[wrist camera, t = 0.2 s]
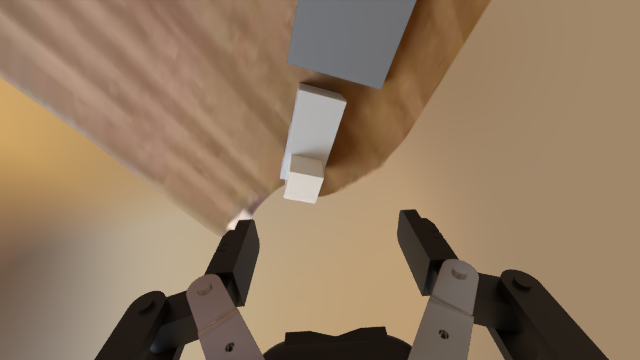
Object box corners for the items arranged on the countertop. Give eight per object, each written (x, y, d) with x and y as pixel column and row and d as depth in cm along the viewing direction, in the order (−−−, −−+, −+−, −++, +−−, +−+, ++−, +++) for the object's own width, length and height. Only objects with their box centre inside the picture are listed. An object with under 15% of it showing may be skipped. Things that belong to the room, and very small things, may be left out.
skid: (299, 80, 29) (298, 89, 26) (342, 92, 30) (346, 102, 27) (281, 163, 36) (279, 178, 33) (317, 170, 37) (318, 185, 34)
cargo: (291, 154, 31) (289, 171, 27) (321, 160, 31) (323, 178, 28) (285, 179, 33) (283, 198, 29) (313, 184, 34) (315, 203, 30)
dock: (314, -88, 21) (315, -99, 19) (424, -42, 23) (436, -47, 21) (288, 59, 28) (286, 63, 26) (376, 84, 30) (381, 89, 28)
